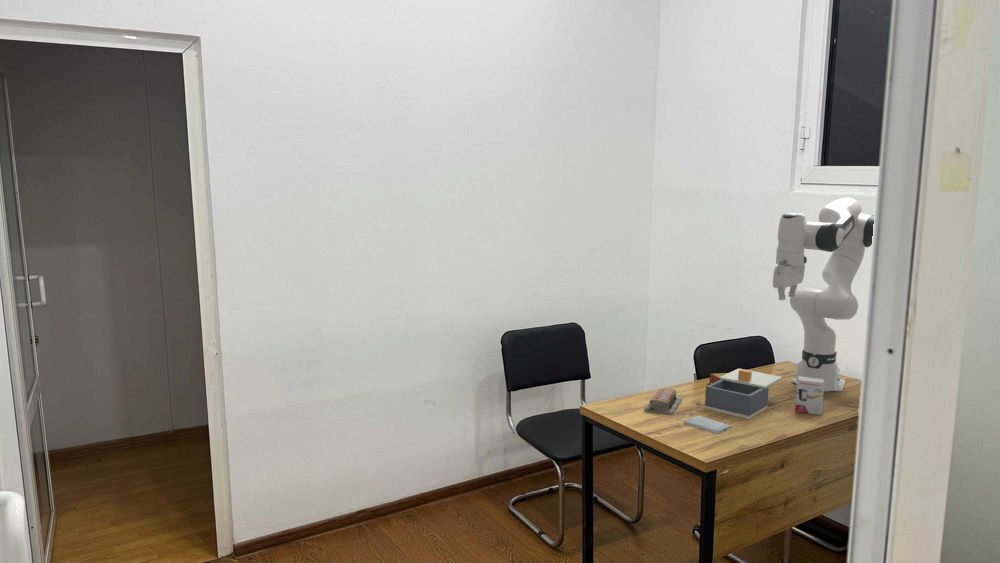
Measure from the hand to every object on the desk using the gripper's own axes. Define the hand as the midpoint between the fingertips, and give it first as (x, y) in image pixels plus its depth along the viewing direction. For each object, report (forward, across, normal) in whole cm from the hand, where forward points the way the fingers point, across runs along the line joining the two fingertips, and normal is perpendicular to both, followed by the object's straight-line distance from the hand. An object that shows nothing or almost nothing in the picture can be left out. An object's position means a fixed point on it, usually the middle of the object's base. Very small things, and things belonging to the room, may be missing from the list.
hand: (786, 298), depth 238 cm
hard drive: (+40, -38, +9) cm, 56 cm away
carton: (+40, +8, +22) cm, 46 cm away
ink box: (+39, 0, -10) cm, 41 cm away
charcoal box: (+39, -14, +10) cm, 43 cm away
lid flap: (+31, -2, +10) cm, 33 cm away
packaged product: (+40, -29, +30) cm, 58 cm away
